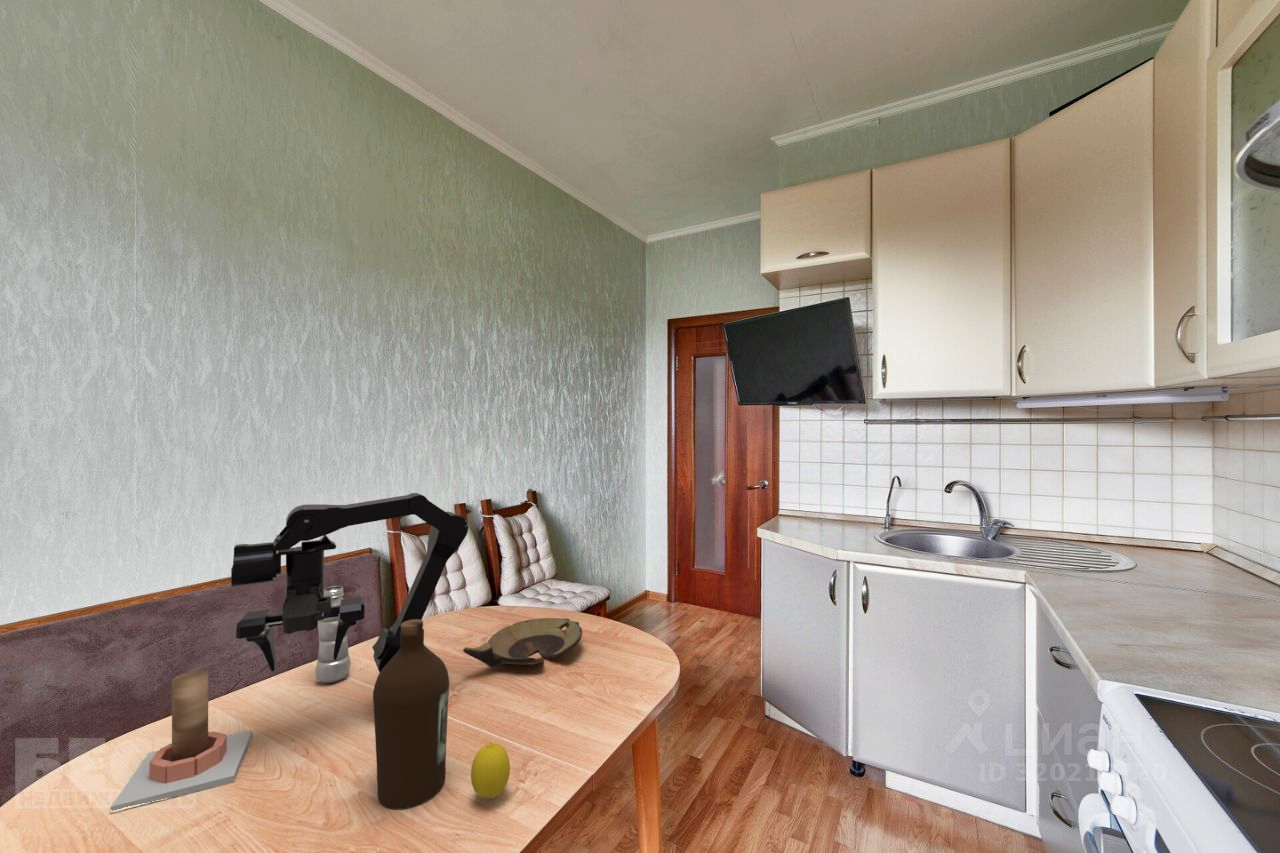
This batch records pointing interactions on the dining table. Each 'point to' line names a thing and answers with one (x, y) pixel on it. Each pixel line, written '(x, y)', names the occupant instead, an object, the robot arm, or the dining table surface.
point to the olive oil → (411, 722)
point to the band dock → (185, 770)
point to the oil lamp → (528, 642)
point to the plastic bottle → (331, 644)
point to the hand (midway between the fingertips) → (305, 664)
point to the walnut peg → (189, 714)
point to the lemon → (490, 770)
